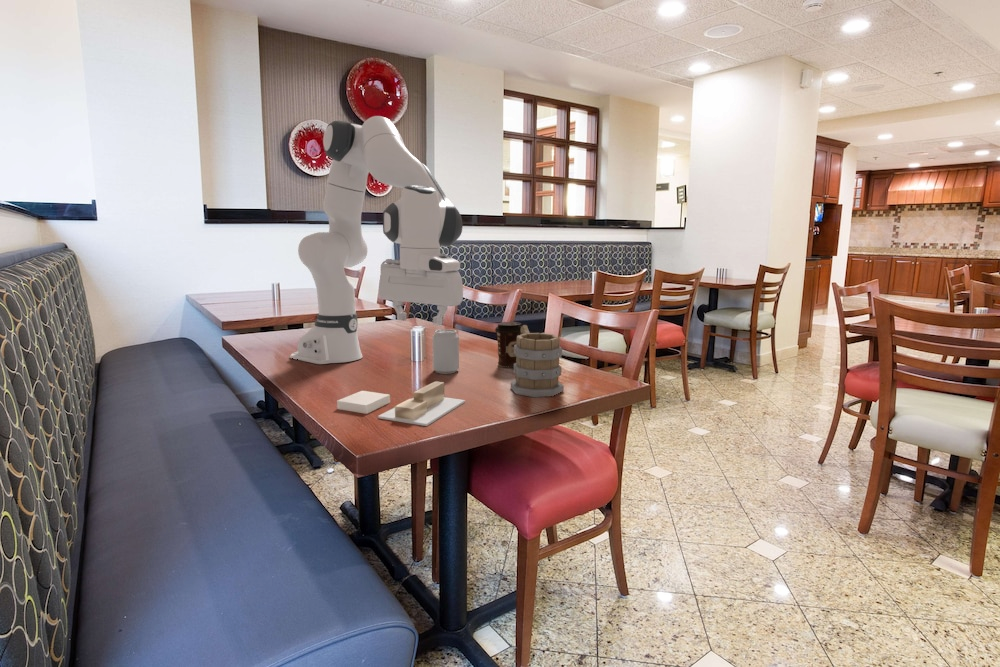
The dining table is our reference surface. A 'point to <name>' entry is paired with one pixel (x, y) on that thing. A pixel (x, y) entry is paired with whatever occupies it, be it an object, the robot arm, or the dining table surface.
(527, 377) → the tankard
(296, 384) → the dining table surface
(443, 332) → the can
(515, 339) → the coffee cup
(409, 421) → the mat
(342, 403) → the tile
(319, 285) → the robot arm
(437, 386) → the tan stepped bar
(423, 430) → the dining table surface
